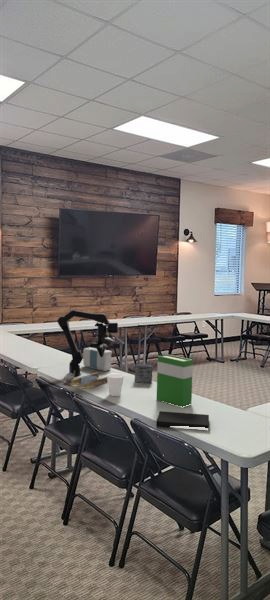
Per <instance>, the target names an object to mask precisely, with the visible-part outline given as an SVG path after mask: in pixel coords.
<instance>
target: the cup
mask: <svg viewBox="0 0 270 600" xmlns="http://www.w3.org/2000/svg"><path fill="white" fill-rule="evenodd" d="M105 377H107V387H108V393H109V396H110V395H111V396H110V397H114V396H116V397H120V396H121V394H122V389H123V385H124V384H123V383H124V377H125V374H122V373H118V372H117V373H114V372H113V373H108V374H106V375H105ZM119 395H120V396H119Z"/></svg>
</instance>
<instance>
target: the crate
mask: <svg viewBox="0 0 270 600" xmlns="http://www.w3.org/2000/svg"><path fill="white" fill-rule="evenodd" d="M80 377H81V383H80V385H81V384H83V385H82V386H86V383H88V382H91V381H95V380H98V378H97V376H91V375H90V374H86V375H84V376H80Z"/></svg>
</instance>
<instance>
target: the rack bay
mask: <svg viewBox="0 0 270 600" xmlns="http://www.w3.org/2000/svg"><path fill="white" fill-rule="evenodd" d="M99 374H100V372H97V371H96V372H94V373H90V374H89V375H91V376H97V380H95V381H91V382H88V383H86V385H85V386H83V385H82V386H81V385H78V383H79V384H81V377H82V376H78V377H76V378H74V379H72V380H71V383H69V386H72V387H76V388H81V389H84V388H85V390H88V388H89V389H92V388H93V387H94V386H95V387H98V386H100V384H101V385H103V384H108V382H107V376H104V377H102V378H100V377H99V376H100V375H99ZM75 384H76V385H75ZM97 385H98V386H97ZM91 387H92V388H91ZM95 387H94V388H95Z"/></svg>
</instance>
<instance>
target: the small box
mask: <svg viewBox="0 0 270 600" xmlns="http://www.w3.org/2000/svg"><path fill="white" fill-rule="evenodd" d="M152 382H153V364H139V363H138V364H137V363H136V364H135V365H134V383H135V384H152ZM134 383H133V384H134Z"/></svg>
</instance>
